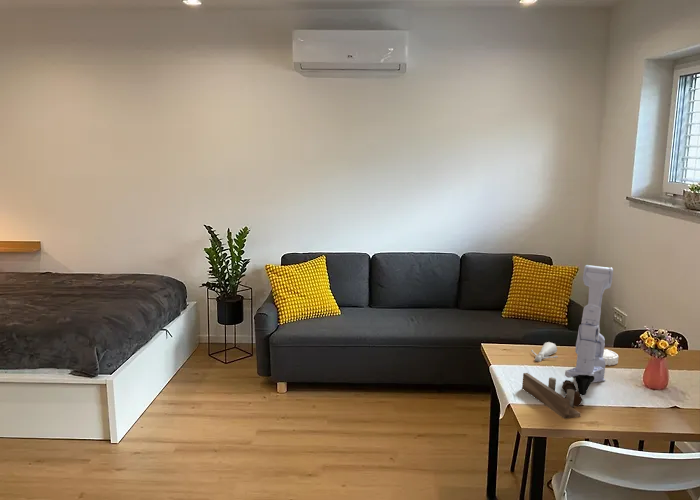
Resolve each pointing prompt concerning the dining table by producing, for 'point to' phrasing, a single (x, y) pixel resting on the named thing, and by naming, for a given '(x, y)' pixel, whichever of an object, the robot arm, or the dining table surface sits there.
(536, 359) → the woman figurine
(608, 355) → the mooncake
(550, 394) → the peg rack
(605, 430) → the dining table surface
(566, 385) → the dark brown elongated lump
